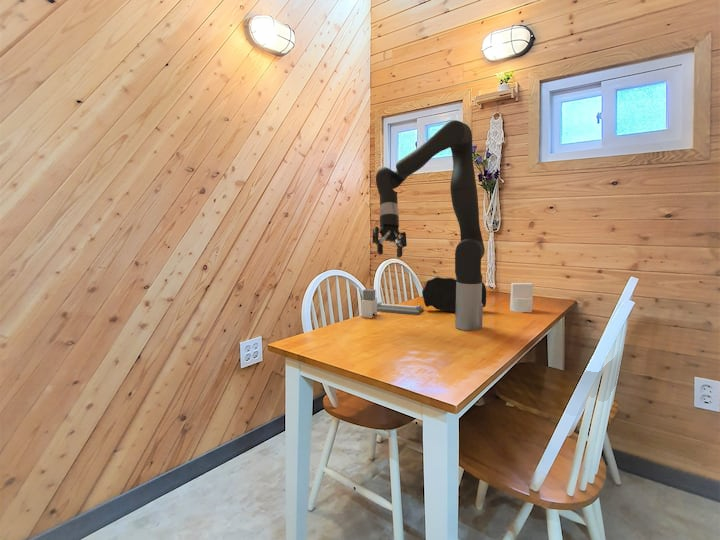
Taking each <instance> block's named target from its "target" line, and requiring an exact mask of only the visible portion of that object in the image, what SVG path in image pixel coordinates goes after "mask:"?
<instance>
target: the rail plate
mask: <svg viewBox="0 0 720 540" xmlns="http://www.w3.org/2000/svg"><path fill="white" fill-rule="evenodd" d="M379 311H385V312H384V313H390V312H393V313H394V314H402V313H403V314H405V315H412V316H413V315H417V316H418V315H420V314H421V313H422V312H423V311H424V307H423V306H421V304H417V305H415V306H414V305H406V304H405V305H402V304H391V303H383V302H382V301H378V302H377V312H379ZM393 313H392V314H393Z"/></svg>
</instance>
